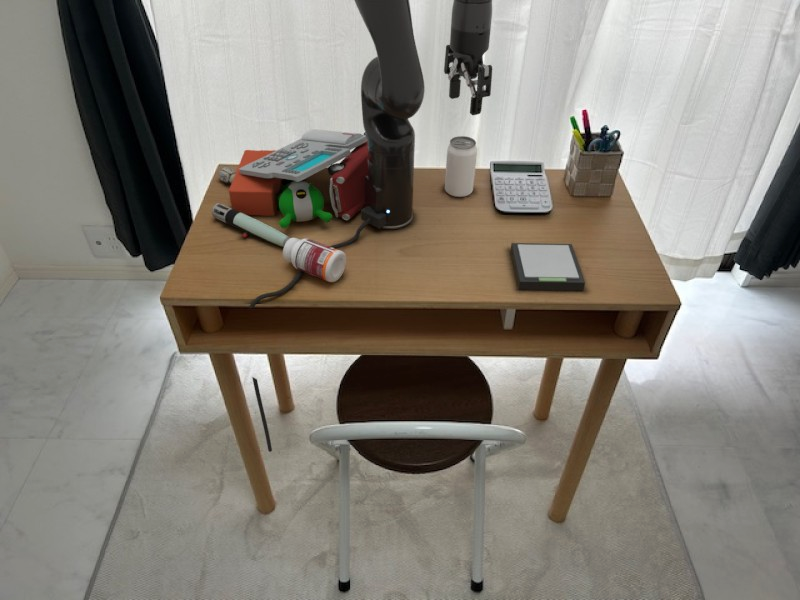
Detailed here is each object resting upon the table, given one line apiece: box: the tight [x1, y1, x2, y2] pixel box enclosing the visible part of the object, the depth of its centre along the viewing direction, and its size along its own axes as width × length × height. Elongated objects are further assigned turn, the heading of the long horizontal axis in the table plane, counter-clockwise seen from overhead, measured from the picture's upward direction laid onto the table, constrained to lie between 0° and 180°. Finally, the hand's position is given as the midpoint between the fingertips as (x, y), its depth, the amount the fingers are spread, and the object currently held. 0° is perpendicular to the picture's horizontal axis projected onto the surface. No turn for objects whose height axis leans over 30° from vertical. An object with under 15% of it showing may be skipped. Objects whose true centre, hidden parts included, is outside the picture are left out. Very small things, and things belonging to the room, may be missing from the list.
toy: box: [277, 180, 333, 229], centre depth 130 cm, size 11×8×15 cm
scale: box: [509, 242, 586, 292], centre depth 118 cm, size 12×12×2 cm
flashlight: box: [211, 202, 291, 248], centre depth 126 cm, size 3×4×20 cm
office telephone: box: [239, 129, 367, 182], centre depth 132 cm, size 23×3×20 cm
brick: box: [228, 149, 283, 217], centre depth 136 cm, size 18×9×6 cm, turn 0°
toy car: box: [327, 131, 368, 221], centre depth 135 cm, size 11×25×10 cm
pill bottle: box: [282, 237, 347, 283], centre depth 116 cm, size 6×6×11 cm
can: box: [444, 135, 478, 198], centre depth 137 cm, size 6×6×12 cm
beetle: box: [218, 167, 237, 187], centre depth 140 cm, size 4×7×3 cm, turn 70°
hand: (464, 105), depth 127 cm, fingers open, 8 cm apart
